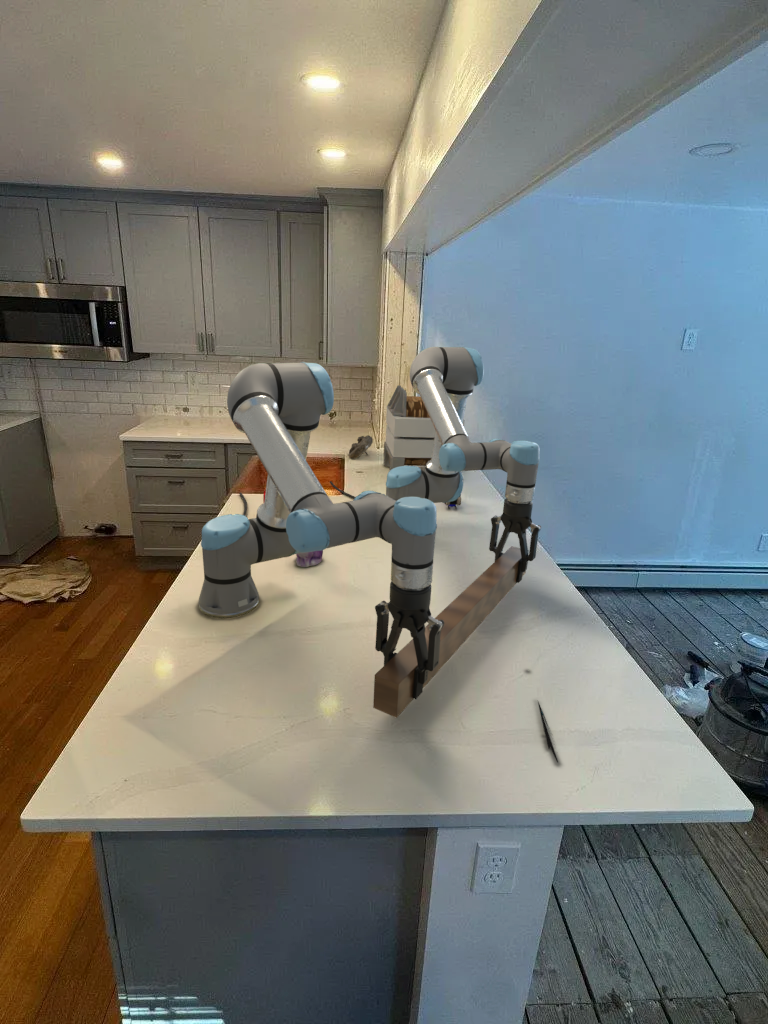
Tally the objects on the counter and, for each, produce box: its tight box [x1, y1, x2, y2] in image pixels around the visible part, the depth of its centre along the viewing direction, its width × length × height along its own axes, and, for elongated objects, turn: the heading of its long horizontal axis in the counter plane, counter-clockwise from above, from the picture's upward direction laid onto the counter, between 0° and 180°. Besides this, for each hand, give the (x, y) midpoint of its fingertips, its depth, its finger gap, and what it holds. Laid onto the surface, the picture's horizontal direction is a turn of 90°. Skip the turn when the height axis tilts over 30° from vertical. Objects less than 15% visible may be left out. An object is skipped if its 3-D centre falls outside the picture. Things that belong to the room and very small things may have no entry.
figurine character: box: [444, 493, 462, 510], centre depth 230 cm, size 7×8×15 cm
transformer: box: [383, 384, 465, 471], centre depth 268 cm, size 34×33×41 cm
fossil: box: [348, 435, 374, 460], centre depth 302 cm, size 22×10×15 cm
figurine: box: [295, 550, 324, 568], centre depth 172 cm, size 9×10×15 cm
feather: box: [527, 669, 559, 763], centre depth 113 cm, size 2×28×2 cm
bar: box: [372, 545, 530, 719], centre depth 134 cm, size 74×5×7 cm, turn 149°
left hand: (404, 689), depth 110 cm, fingers closed on bar, 5 cm apart
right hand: (508, 578), depth 159 cm, fingers closed on bar, 5 cm apart
